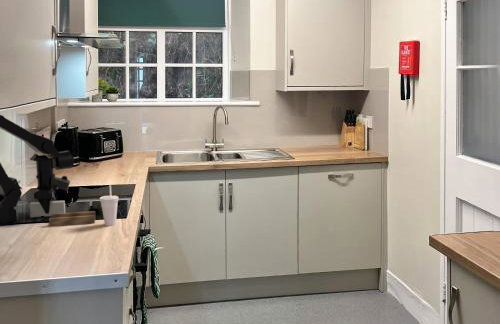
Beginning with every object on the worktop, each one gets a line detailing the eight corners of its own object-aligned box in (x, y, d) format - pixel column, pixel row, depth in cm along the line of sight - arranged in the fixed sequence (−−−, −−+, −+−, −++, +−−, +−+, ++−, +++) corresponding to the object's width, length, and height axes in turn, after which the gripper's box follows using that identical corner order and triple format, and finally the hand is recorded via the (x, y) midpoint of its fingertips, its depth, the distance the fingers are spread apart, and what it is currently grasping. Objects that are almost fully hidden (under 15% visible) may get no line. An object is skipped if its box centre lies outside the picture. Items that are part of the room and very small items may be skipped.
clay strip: (30, 217, 198) (29, 204, 197) (31, 215, 201) (30, 202, 200) (64, 215, 201) (63, 202, 200) (65, 213, 204) (64, 200, 203)
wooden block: (49, 226, 186) (49, 218, 185) (52, 220, 193) (51, 213, 192) (94, 223, 189) (94, 216, 189) (95, 218, 196) (95, 211, 196)
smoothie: (120, 226, 185) (118, 186, 183) (100, 227, 183) (98, 187, 181) (119, 221, 191) (117, 182, 189) (100, 222, 189) (98, 184, 187)
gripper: (65, 174, 191) (68, 217, 194) (70, 166, 209) (72, 205, 212) (32, 176, 189) (35, 219, 191) (39, 168, 207) (42, 207, 209)
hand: (47, 212), depth 201 cm, fingers closed on clay strip, 3 cm apart
